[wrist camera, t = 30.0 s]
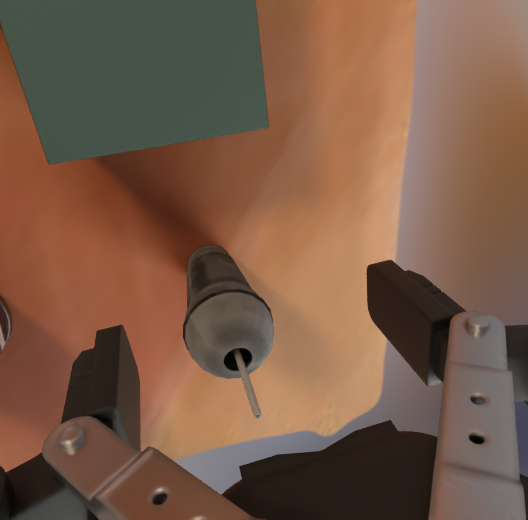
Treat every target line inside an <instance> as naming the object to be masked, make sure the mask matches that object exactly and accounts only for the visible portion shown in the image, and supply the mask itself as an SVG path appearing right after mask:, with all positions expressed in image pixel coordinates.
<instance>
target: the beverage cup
mask: <svg viewBox="0 0 528 520" xmlns="http://www.w3.org/2000/svg"><path fill="white" fill-rule="evenodd" d="M273 336H274V327H273V318H272V314H271V310H270V308H269V307H268V305H267V304H266V303H265V301H264V300H263V299H262V298H260V297H259V296H258V295H257V294H256V293H255V291H253V290H252V289H251V287H250V285H249V284H248V282H247V281H246V279H245V278H244V276H243V274H242V273H241V271H240V270H239V268H238V267H237V265H236V263H235V262H234V260H233V259H232V258H231V256H230V255H229V254H228V253H227V251H226V250H224V249H223V248H222V247H219V246H216V245H206V246H203V247H200V248H198V249H197V250H195V251H194V252H193V253H192V255H191V256H190V258H189V260H188V268H187V312H186V317H185V322H184V324H183V338H184V341H185V344H186V347H187V349H188V350H189V352H190V354H191V356H192V358H193V359H194V360H195V361H196V363H197V364H198V365H199V366H200V367H201V368H202V369H203V370H205V371H206V372H208V373H210V374H212V375H214V376H216V377H221V378H227V379H230V378H240V377H241V378H242V381H243V384H244V387H245V390H246V393H247V396H248V399H249V402H250V405H251V408H252V412H253V415H254V418H255V419H260V418H261V417H262V414H261V411H260V408H259V405H258V402H257V399H256V396H255V393H254V390H253V387H252V384H251V381H250V378H249V375H248V374H250V373H252V372H253V371H255V370H256V369H257V368H258V367H259V366H260V365H261V364H262V363H263V362H264V361H265V360H266V358H267V356H268V354H269V352H270V350H271V348H272V343H273Z"/></svg>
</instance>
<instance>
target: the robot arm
mask: <svg viewBox="0 0 528 520" xmlns="http://www.w3.org/2000/svg"><path fill="white" fill-rule="evenodd" d="M367 302H368V310H369V314H370V316H371V319H372V320H373V322H374V323H375V325H376V326H377V327H378V328H379V329H380V330H381V332H382V333H383V334H384V335H385V336H386V338H387V339H388V340H389V341H390V342H391V344H392V345H393V346H394V347H395V348H396V349H397V351H398V352H399V353H400V354H401V355H402V357H403V358H404V359H405V360H406V361H407V363H408V364H409V365H410V366H411V367H412V368H413V370H414V371H415V372H416V373H417V374H418V376H419V377H420V378H421V379H422V380H423V382H424V383H425V384H426V385H427V386H432V385H435V384H438V383H443V391H442V401H441V410H440V419H439V429H438V437H435V436H432V435H428V434H424V433H419V432H409V431H408V432H407V431H398V430H397V429H396V428H395V426H394V425H393V423H392V422H391V420H389V421H386V422H383V423H379V424H376V425H373V426H370V427H366V428H363V429H360V430H357V431H354V432H353V433H351V434H349V435H347V436H346V437H344V438H342V439H341V440H339V441H337V442H336V443H334V444H332V445H331V446H329V447H327V448H326V449H324V450H321V451H317V452H305V453H292V454H279V455H275V456H272V457H269V458H265V459H262V460H259V461H255V462H252V463H249V464H246V465H242V466H240V467H239V468H240V472H241V476H242V480H240V481H239V482H237V483H235V484H234V485H233V486H232V487H230V488H229V489H227V490H226V491H225V492H224V493H223V494H222V495H220V494H219V493H218V492H216V491H215V490H213V489H212V488H211V487H209V486H208V485H206V484H205V483H204V482H202V481H201V480H199V479H198V478H197V477H195V476H194V475H192V474H191V473H189V472H188V471H187V470H185V469H184V468H182V467H181V466H180V465H178V464H177V463H175V462H174V461H173V460H171V459H170V458H168V457H167V456H165V455H164V454H163V453H161V452H160V451H158V450H157V449H155V448H153V447H148V448H146V449H145V450H144V451H143V452H141V449H140V380H139V373H138V369H137V365H136V362H135V359H134V356H133V353H132V350H131V347H130V344H129V341H128V338H127V335H126V332H125V329H124V327H123V325H118V326H114V327H110V328H106V329H102V330H98V331H97V333H96V339H95V346H94V348H93V349H89V350H85V351H82V352H81V354H80V355H79V356H78V358H77V359H76V360H75V362H74V363H73V366H72V371H71V376H70V377H71V379H70V381H69V386H68V387H69V389H68V391H67V396H66V401H65V406H64V411H63V416H62V421H61V425H60V426H58V427H57V428H56V429H54V430H53V431H52V432H51V433H50V434H49V436H48V437H47V438H46V440H45V442H44V444H43V448H42V452H41V453H40V454H39V455H37V456H36V457H34V458H32V459H31V460H29V461H27V462H25V463H23V464H21V465H19V466H17V467H16V468H14V469H12V470H10V471H8V472H5V471H4V469H3V468H2V467H1V466H0V520H528V477H525V476H524V475H521V474H519V463H518V448H517V434H516V421H515V407H514V402H515V401H516V402H517V401H524V402H525V403H526V404H527V405H528V325H515V326H504V324H503V323H502V322H501V321H500V320H499V319H497V318H496V317H494V316H492V315H489V314H487V313H483V312H474V311H468V312H467V311H466V310H464V309H463V308H462V307H460V306H459V305H458V304H457V303H456V302H454V301H453V300H452V299H451V298H450V297H448V296H447V295H446V294H445V293H444V292H441V290H440V289H439V288H437V287H436V286H435V285H434V286H433V284H432V283H431V282H430V281H429V280H428V279H427V278H425V277H424V276H422V275H420V274H417V273H415V272H412V271H410V270H408V271H404V270H403V269H401V268H400V267H399V266H398V265H397V264H396V263H394V262H393V261H392V260H387V261H383V262H379V263H375V264H371V265H369V266H368V267H367ZM11 330H12V317H11V313H10V311H9V308H8V306H7V305H6V303H5V302H4V300H3V299H2V298H1V297H0V353H1V351H2V349H3V347H4V346H5V344H6V342H7V340H8V338H9V336H10V333H11Z"/></svg>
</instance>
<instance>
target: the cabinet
mask: <svg viewBox="0 0 528 520" xmlns="http://www.w3.org/2000/svg"><path fill="white" fill-rule="evenodd" d="M0 24H1V27H2V30H3V33H4V36H5V39H6V42H7V45H8V47H9V50H10V53H11V56H12V59H13V62H14V65H15V68H16V71H17V74H18V77H19V80H20V83H21V85H22V88H23V91H24V94H25V97H26V100H27V103H28V106H29V109H30V112H31V115H32V118H33V121H34V123H35V126H36V129H37V132H38V135H39V138H40V141H41V144H42V147H43V150H44V153H45V156H46V159H47V161H48V164H49V165H51V164H57V163H63V162H69V161H75V160H81V159H87V158H93V157H99V156H105V155H111V154H117V153H123V152H128V151H134V150H140V149H146V148H152V147H158V146H164V145H170V144H176V143H182V142H188V141H194V140H200V139H206V138H212V137H218V136H224V135H230V134H236V133H242V132H248V131H254V130H260V129H265V128H269V123H268V113H267V104H266V94H265V85H264V75H263V66H262V57H261V47H260V38H259V28H258V19H257V9H256V0H0Z"/></svg>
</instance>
